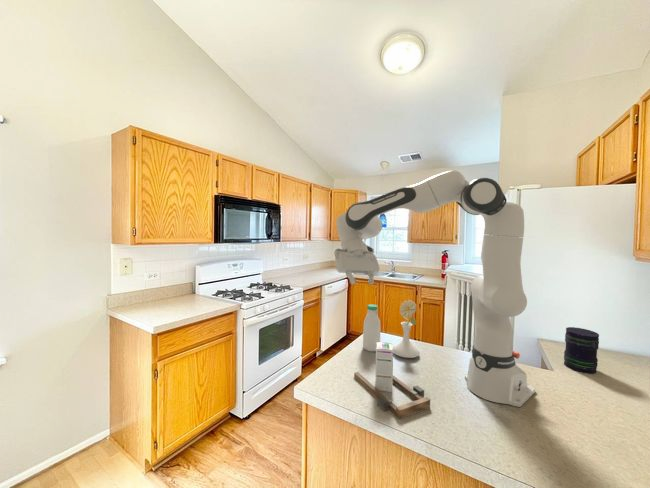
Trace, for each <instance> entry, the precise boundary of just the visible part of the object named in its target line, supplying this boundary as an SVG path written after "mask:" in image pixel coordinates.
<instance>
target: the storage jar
mask: <svg viewBox="0 0 650 488" xmlns="http://www.w3.org/2000/svg"><path fill="white" fill-rule="evenodd" d="M564 335H565V336H564V342H565V350H564V352H563V354H564V355H563V365H564V366H565V367H566V368H568V369H570V370H572V371H575V372H578V373H581V374H586V375H587V374H588V375H595V374H596V373H597V369H598V368H597V367H598V361H599V360H598V350H599V347H600V346H599V344H600V338H599V337H600V334H599V333H598V332H597V331H596V332H595V331H593V330H590V329H586V328H582V327H575V326H573V327H572V326H571V327H570V326H569V327H567V326H566V328H565V334H564Z"/></svg>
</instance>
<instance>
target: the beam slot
mask: <svg viewBox="0 0 650 488" xmlns="http://www.w3.org/2000/svg"><path fill="white" fill-rule="evenodd" d="M354 378H355V379H356V380H357V381H358V382H359V383H361V385H363V387H365V388H366V390H368V391H369V392H370V393H371V394H372V395H373V396H374V397H375V398H376V399H377V406H378V408H380V409H381V410H382V411H383V412H386V411H388V410H389V411H390V412H391V413H392V414H393V415H394V416H396V417H397V418H398V419H399V420H401V419H403V418H405V417H408V416H411V415H414V414H416V413H418V412H419V413H420V412H422V411H424V410H427V409H430V408H431V398H429V397H427V396H426V397H425V389H424V388H422V387H420V386H419V385H414V386H412V388H413V389H412V388H411V387H410V386H409V385H407V384H405V383H404V382H403V381H401V380H400V379H399V378H398V377H396V376H395V375H393V385H395V386H396V387H398V388H399V389H400V390H401V391H403V392H404V393H405V394H407V395H408V396H409V397H411V398H412V399H413V400H414V401H410V402H407V403H405V404H402V405H398V406H397V405H396V404H395V403H394V402H393V401H392V400H391V399H390V398H389V397H387V396H386V395H385V394H384V393H382V391H380V390H378V389H377V388H375V386H374V384H372V383H371V382H370V381H368V379H367V378H366V377H365V376H363V374H361V373H360V372H358V371H356V372H354Z"/></svg>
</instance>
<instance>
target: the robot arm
mask: <svg viewBox="0 0 650 488" xmlns="http://www.w3.org/2000/svg"><path fill="white" fill-rule="evenodd" d="M454 202H455V203H456V204H457V205H458V206H459V207H460V208H461V209H463V211H465V213H467V214H469V215H473V216H479V215H481V217H483V219H484V220H483V221H484V229H483V230H484V231H483V239H482V244H481V245H482V246H481V252H480V253H481V254H480V261H481V263H482V273H483V274H480V275H477V276H476V277H475V278H473V280H472V281H471V283H470V291H471V292H470V293H471V300H472V310H473V317H474V319H473V320H474V333H473V334H474V335H473V336H474V339H473V345H472V348H471V357H470V358H469V364H468V370H467V373H465V374H464V379H465V381H466V387H467V388H468V390H469V391H471V393H473V394H475V395H476V396H477V397H480V398H481V399H484V400H486V401H490V402H493V403H497V404H506V405H510V406H513V407H518V408H519V407H522V406H523V405H524V404H525V403H526V402H527V401H528V400H529V399H530V398H531V397H532V396H533V395H534V394H535V393H536V388H534V386H532V385H531V384H530V383H528V379H527V378H528V376H527V375H528V374H527V373H526V371H524V369H523V368H521V367H520V366H519V365H518V364H517V363H516V359H517V360H518V359H519V358H521V354H520V352H518V351H515V350H513V349H514V348H513V346H514V345H513V344H514V328H513V326H512V324H511V319H510V318H513V317H517V316H519V315H520V314H523V313H524V311H525V310H526V308H527V304H528V300H527V296H526V294H525V292H524V287H523V279H522V278H523V277H522V269H521V268H522V267H521V262H522V261H521V260H522V259H521V258H522V251H523V243H524V236H525V213H524V209H523V208H522V206H521V205H520V204H517V203H514V202H510V201H508V199H507V198H506V195H505V194H504V192H503V189H502V188H501V186H500V185H499V183H498V182H497V181H496V180H494V179H493V178H489V177H478V178H476V179H473V180H472V181H470V182H469V181H467V180H466V178H465V177H464V175H463V174H462V173H461V172H460V171H458V170H455V169H453V170H448V171H444V172H441V173H438V174H436V175H433V176H431V177H429V178H427V179H425V180H423V181H421V182H419V183H416V184H412V185H409V186H404V187H401V188H398V189H395V190H392V191H390V192H387V193H384V194H382V195H380V196H377V197H374V198H373V199H372V198H371V199H369V200H365V201H364V200H363V201H358V202H355V203H352V205H350V206H349V207H348V209H347V210H346V212H344V213H341V214H340V215H339V216H338V217H337V219H336V230H337V235H338V238H339V240H340V246H341V248H336V249H335V250H334V262H335V269H336V270H337V272H338V273H341V274H345V276H346V277H347V278H348V279H349V282H350V283H349V284H351V285H354V284H356V283H358V282H357V278H356V277H354V276H353V274H365V275H367V277H368V279H367V282H368V284H369V285H373V284H375V281H374V277H375V274H378V272H379V271H380V265H379V261H378V259H377V256H376V255H375V250H374V248H373V247H371V246H369V245H367V244H366V243H364V241H363V240H367V239H371V238H374V237H376V236H377V235H379V234H380V232H381V231H382V228H383V221H382V219H381V218H380V217H379V216H381V215H383V214H386V213H389V212H392V211H394V210H397V209H403V210H405V209H406V210H410V211H413V212H414V213H418V214H425V213H427V212H432V211H434V210H436V209H438V208H440V207H443V206H445V205H448V204H450V203H454Z"/></svg>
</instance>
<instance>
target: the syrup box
mask: <svg viewBox="0 0 650 488" xmlns="http://www.w3.org/2000/svg"><path fill="white" fill-rule="evenodd" d="M393 372H394V352H393V343H390V342H382V341H380V342H377V343H376V351H375V384H374V385H375V386H374V387H375V388H377V389H378V390H379V391H380V392H388V393H391V392H393V385H394V383H393V376H394V373H393Z"/></svg>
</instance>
